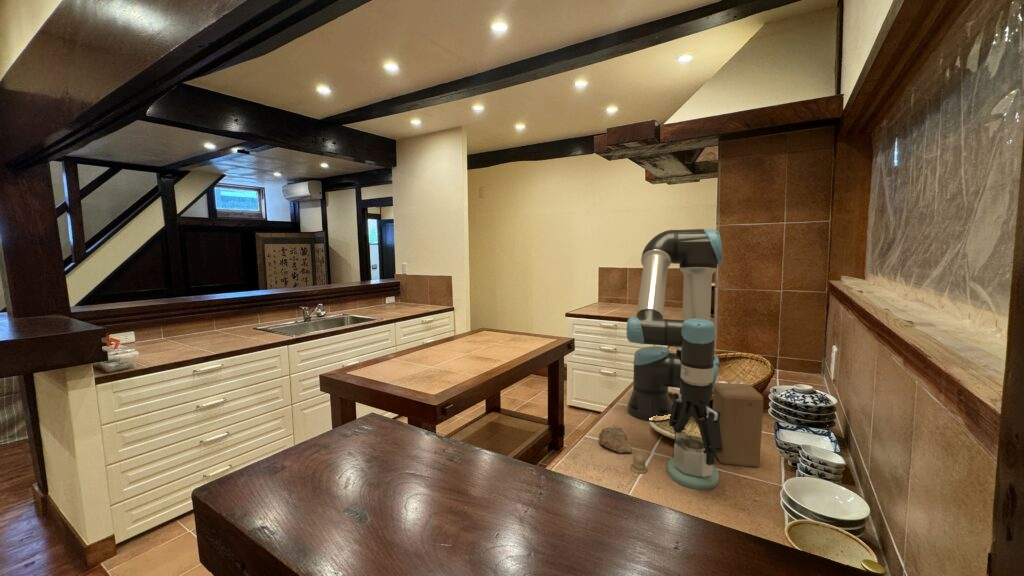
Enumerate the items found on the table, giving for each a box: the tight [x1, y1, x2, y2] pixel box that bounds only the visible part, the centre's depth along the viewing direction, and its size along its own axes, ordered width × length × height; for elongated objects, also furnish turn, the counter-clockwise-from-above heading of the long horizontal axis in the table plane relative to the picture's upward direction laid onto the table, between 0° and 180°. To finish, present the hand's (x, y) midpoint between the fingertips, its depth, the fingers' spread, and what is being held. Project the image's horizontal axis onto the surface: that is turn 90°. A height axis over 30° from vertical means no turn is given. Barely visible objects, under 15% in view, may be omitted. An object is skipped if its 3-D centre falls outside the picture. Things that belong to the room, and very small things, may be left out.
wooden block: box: [712, 382, 764, 468], centre depth 110 cm, size 10×10×20 cm
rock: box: [598, 426, 633, 454], centre depth 118 cm, size 9×6×10 cm
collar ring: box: [673, 434, 710, 477], centre depth 102 cm, size 9×9×6 cm
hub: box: [667, 456, 720, 491], centre depth 102 cm, size 12×12×6 cm
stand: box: [630, 451, 649, 475], centre depth 106 cm, size 4×4×4 cm
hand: (692, 464), depth 102 cm, fingers closed on collar ring, 9 cm apart
